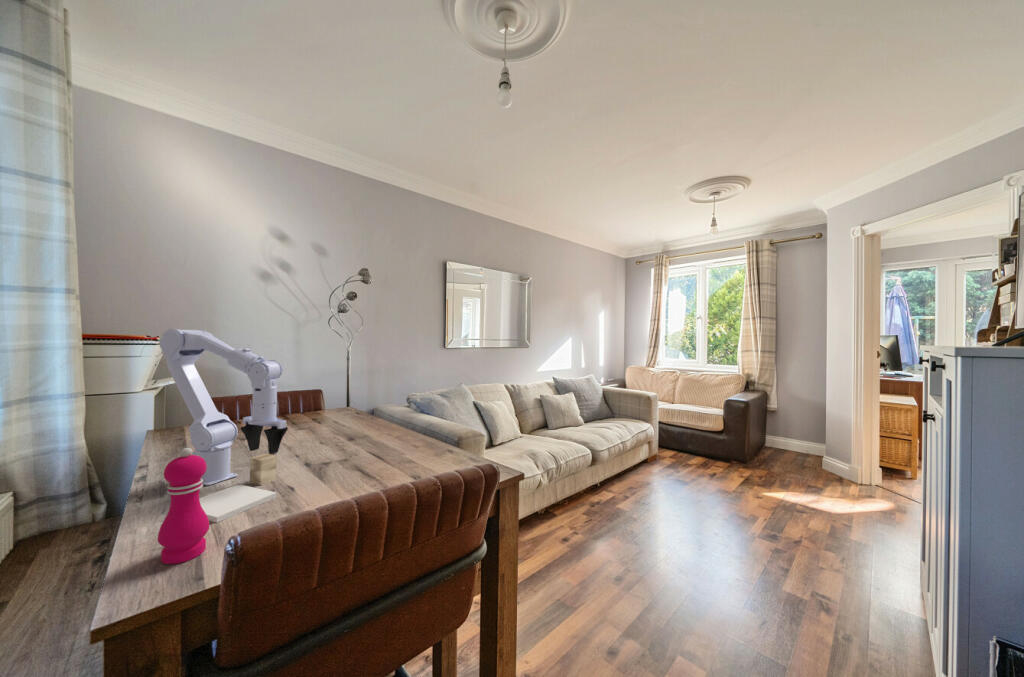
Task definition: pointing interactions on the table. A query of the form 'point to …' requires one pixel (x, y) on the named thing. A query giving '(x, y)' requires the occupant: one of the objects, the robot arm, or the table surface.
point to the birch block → (263, 469)
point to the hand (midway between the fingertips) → (263, 451)
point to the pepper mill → (184, 510)
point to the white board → (233, 501)
